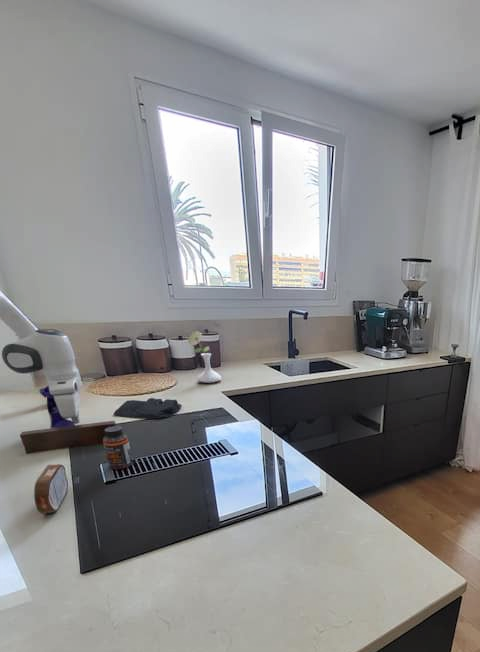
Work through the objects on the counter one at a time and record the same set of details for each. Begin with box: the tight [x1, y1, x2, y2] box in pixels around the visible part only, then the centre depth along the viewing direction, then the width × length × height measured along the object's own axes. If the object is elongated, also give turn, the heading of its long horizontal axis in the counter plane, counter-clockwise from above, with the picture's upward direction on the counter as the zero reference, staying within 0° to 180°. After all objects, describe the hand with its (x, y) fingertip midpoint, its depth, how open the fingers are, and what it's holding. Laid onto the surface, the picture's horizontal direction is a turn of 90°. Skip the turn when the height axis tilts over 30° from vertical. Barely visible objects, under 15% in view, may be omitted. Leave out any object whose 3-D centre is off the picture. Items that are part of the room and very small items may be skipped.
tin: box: [33, 463, 69, 515], centre depth 91 cm, size 15×3×8 cm, turn 22°
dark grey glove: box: [113, 397, 183, 420], centre depth 153 cm, size 15×22×5 cm
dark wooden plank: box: [19, 420, 117, 455], centre depth 122 cm, size 24×3×6 cm, turn 118°
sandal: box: [39, 385, 75, 428], centre depth 128 cm, size 8×20×15 cm, turn 31°
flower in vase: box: [187, 330, 222, 384], centre depth 191 cm, size 13×11×25 cm
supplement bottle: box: [102, 425, 134, 470], centre depth 109 cm, size 6×6×11 cm
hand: (76, 422), depth 131 cm, fingers closed
